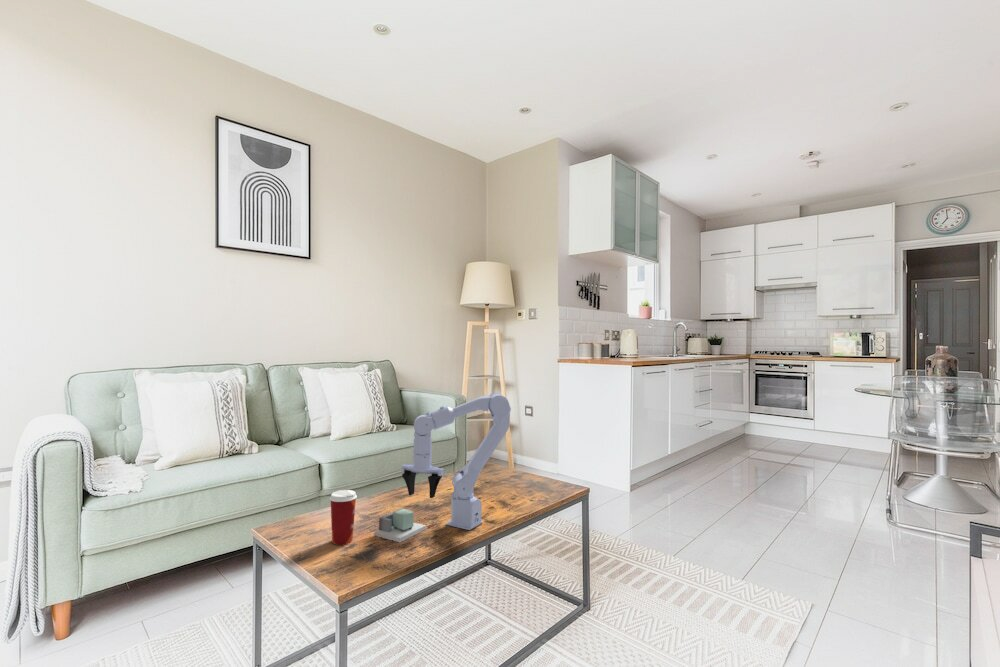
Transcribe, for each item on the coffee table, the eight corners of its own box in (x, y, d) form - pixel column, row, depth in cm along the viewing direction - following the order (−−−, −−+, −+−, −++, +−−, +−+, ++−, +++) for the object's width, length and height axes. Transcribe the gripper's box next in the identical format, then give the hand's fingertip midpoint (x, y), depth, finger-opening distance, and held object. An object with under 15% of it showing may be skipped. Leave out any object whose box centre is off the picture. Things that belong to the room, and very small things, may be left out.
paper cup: (361, 541, 140) (362, 493, 140) (337, 549, 134) (338, 498, 134) (347, 534, 145) (348, 487, 145) (323, 541, 139) (324, 493, 140)
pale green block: (413, 528, 147) (413, 512, 147) (403, 532, 144) (403, 515, 144) (403, 524, 150) (403, 508, 150) (392, 528, 147) (393, 511, 147)
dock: (425, 529, 149) (426, 514, 150) (399, 542, 139) (400, 526, 139) (401, 523, 154) (401, 508, 154) (374, 535, 144) (374, 519, 144)
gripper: (448, 452, 154) (447, 495, 154) (409, 448, 160) (408, 489, 159) (437, 457, 148) (437, 501, 147) (397, 453, 153) (397, 495, 153)
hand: (421, 495), depth 153 cm, fingers open, 7 cm apart
